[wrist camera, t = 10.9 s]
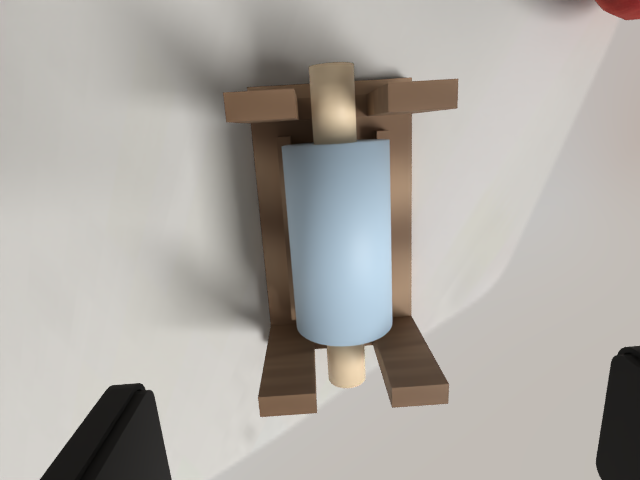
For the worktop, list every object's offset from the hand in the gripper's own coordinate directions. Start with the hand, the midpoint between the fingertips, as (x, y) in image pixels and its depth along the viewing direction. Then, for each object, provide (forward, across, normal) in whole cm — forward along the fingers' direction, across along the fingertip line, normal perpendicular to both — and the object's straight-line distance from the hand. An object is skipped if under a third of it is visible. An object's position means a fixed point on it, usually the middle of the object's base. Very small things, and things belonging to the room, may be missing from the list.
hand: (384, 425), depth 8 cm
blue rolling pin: (+20, 0, +1) cm, 20 cm away
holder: (+20, 0, +1) cm, 21 cm away
